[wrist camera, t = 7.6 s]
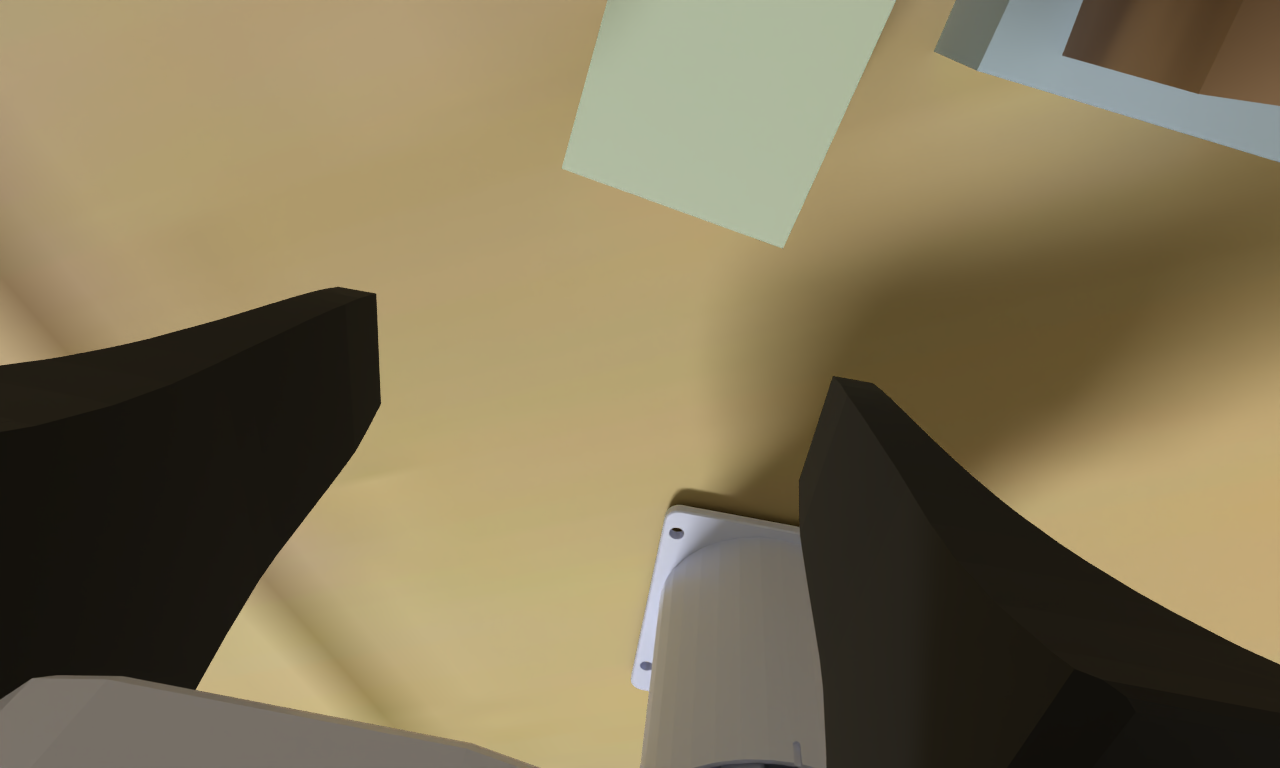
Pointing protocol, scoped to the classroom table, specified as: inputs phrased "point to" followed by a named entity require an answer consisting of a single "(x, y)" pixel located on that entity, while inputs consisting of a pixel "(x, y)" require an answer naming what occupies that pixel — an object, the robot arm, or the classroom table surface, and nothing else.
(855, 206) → the classroom table surface
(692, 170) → the sage cube
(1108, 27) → the walnut cube
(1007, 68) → the base block
